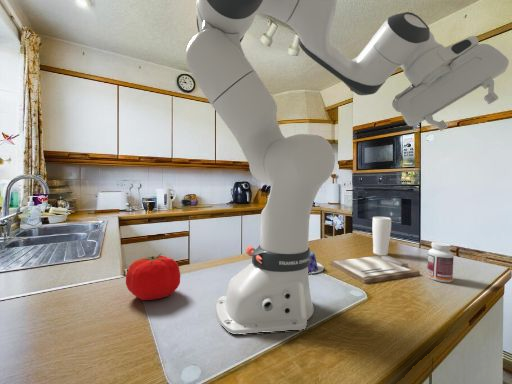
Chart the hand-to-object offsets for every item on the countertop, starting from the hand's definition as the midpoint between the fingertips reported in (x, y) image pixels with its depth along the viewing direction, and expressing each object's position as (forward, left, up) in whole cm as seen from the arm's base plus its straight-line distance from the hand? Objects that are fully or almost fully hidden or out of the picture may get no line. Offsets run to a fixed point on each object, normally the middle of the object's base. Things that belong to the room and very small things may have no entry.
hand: (467, 115), depth 53 cm
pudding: (-21, +33, -45) cm, 60 cm away
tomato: (-68, +27, -45) cm, 86 cm away
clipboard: (0, +25, -45) cm, 51 cm away
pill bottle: (+14, +13, -45) cm, 49 cm away
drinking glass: (+16, +37, -45) cm, 61 cm away
